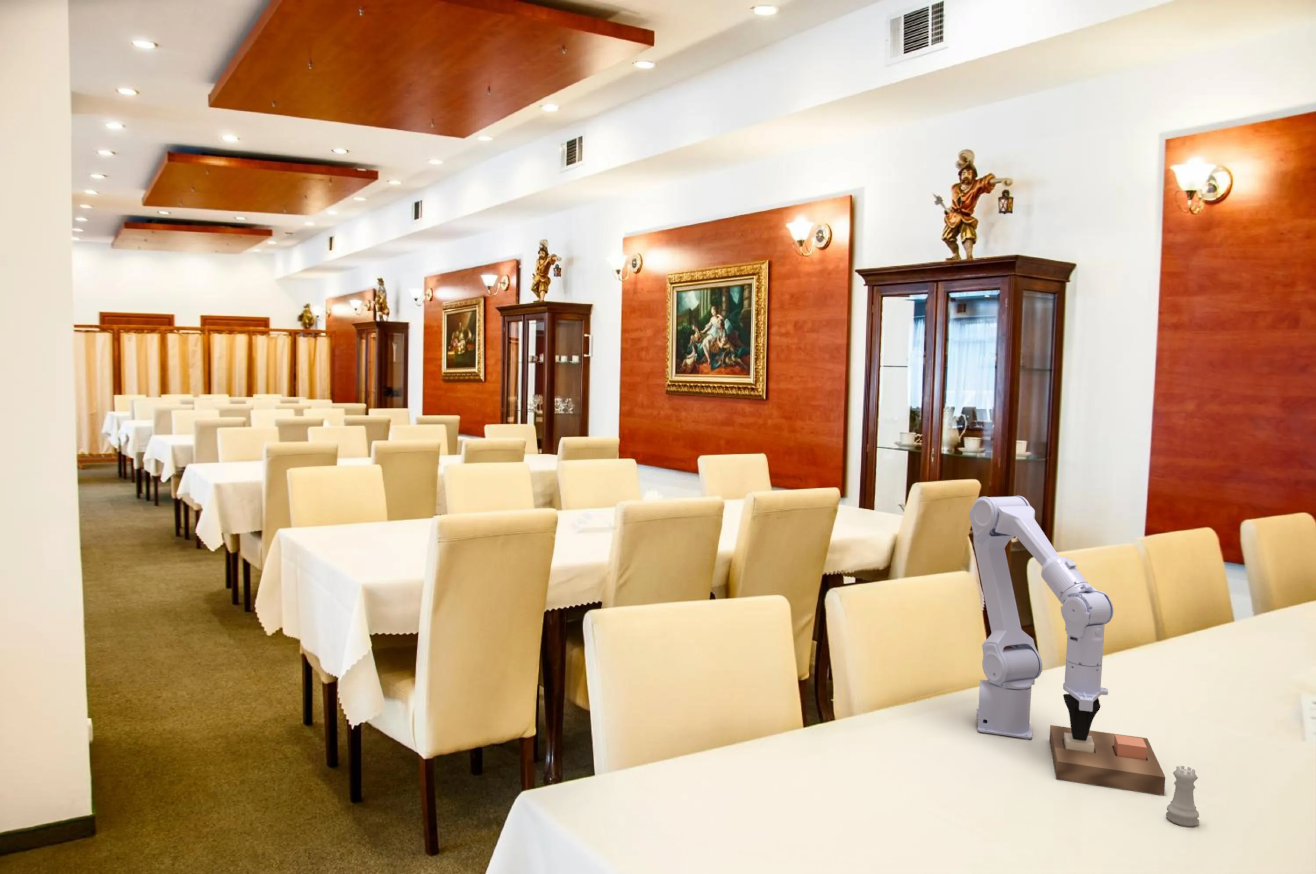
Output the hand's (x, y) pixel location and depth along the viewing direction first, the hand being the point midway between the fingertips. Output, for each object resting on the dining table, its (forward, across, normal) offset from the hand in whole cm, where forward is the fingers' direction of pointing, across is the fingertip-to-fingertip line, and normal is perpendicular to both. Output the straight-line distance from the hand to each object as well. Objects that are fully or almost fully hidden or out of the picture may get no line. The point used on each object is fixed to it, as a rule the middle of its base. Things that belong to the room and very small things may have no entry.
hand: (1079, 738), depth 166 cm
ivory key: (+4, 0, 0) cm, 4 cm away
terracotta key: (+3, 0, -8) cm, 8 cm away
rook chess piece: (+4, -18, -13) cm, 23 cm away
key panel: (+4, 0, -4) cm, 6 cm away
